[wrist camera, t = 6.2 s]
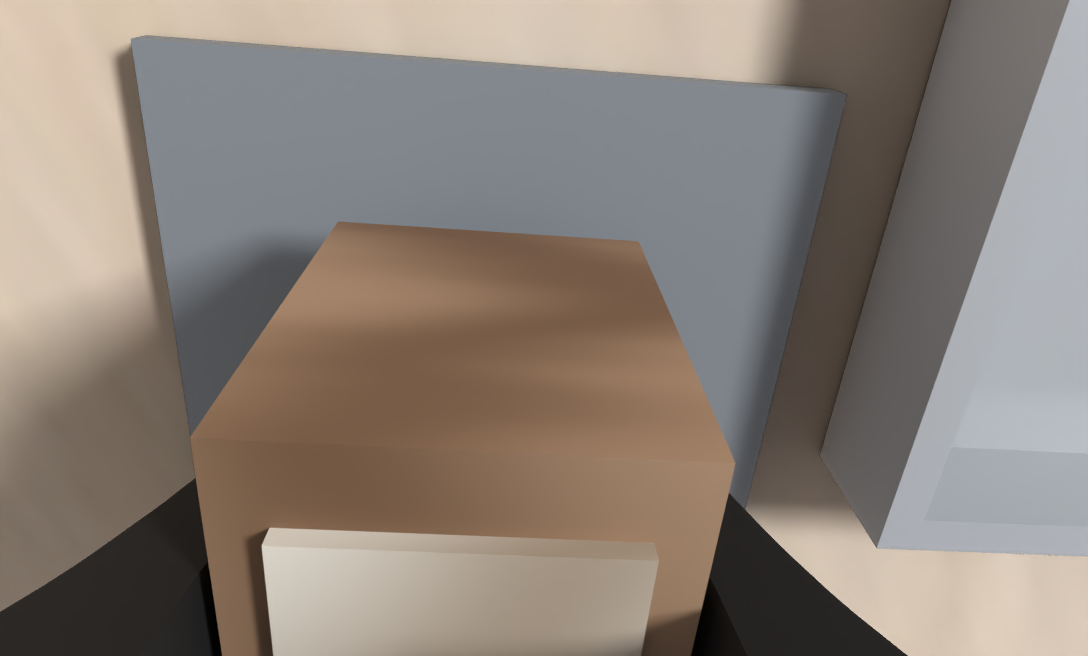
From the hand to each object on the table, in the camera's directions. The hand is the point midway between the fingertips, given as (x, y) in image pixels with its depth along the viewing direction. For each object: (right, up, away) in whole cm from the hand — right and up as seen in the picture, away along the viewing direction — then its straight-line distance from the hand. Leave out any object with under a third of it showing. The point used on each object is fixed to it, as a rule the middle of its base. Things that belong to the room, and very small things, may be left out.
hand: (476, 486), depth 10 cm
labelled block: (0, +1, +1) cm, 1 cm away
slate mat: (0, +1, +3) cm, 3 cm away
